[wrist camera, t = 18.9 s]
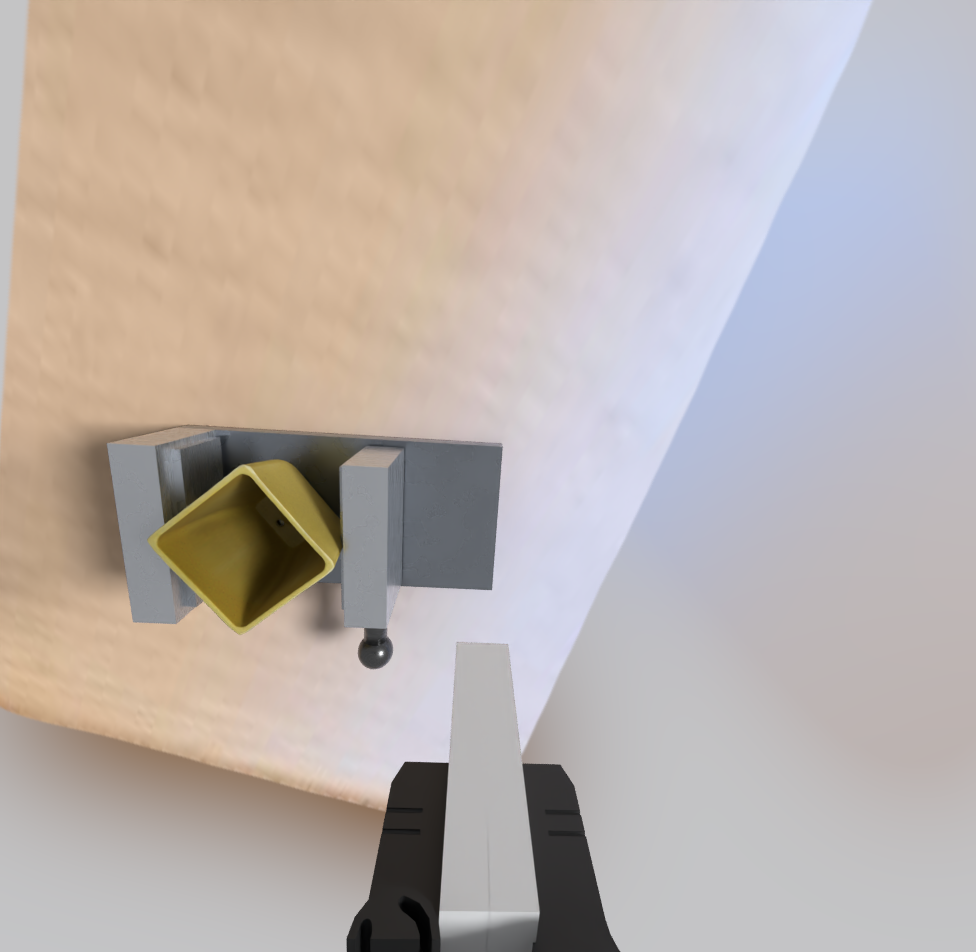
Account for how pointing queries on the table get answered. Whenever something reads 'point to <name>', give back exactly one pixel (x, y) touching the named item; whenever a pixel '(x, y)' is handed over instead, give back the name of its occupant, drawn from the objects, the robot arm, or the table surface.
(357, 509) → the block
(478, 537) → the vise base
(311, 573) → the flower pot
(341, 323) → the table surface
